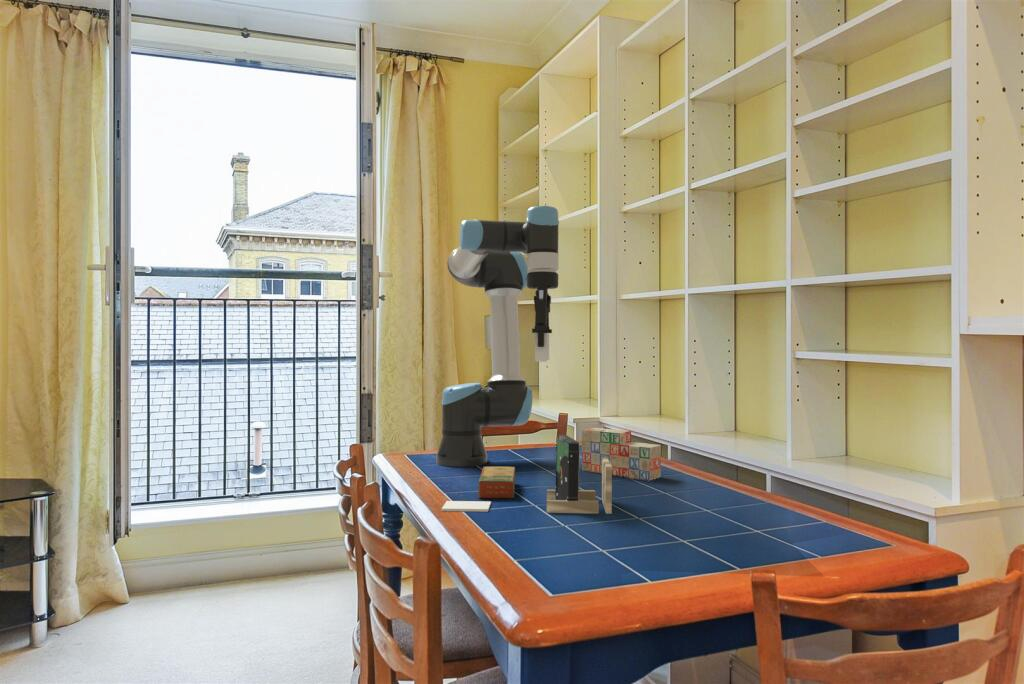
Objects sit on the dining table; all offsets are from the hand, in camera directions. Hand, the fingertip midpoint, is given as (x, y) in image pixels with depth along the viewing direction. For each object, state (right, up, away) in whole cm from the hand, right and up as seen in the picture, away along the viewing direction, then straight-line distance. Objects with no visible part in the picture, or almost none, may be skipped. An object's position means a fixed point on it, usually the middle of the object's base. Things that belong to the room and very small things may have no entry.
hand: (542, 360), depth 163 cm
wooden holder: (+7, -32, -14) cm, 35 cm away
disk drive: (+5, -32, -14) cm, 35 cm away
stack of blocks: (+22, -32, +21) cm, 44 cm away
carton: (-11, -34, +7) cm, 37 cm away
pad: (-17, -32, -14) cm, 39 cm away
